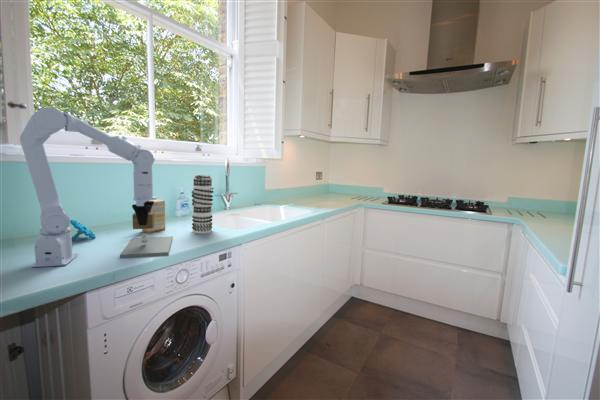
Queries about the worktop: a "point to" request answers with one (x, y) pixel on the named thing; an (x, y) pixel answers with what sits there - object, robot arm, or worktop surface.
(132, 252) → the hub board
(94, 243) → the worktop surface
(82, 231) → the gear
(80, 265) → the worktop surface
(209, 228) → the decorative candle
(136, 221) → the collar
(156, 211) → the supplement box
